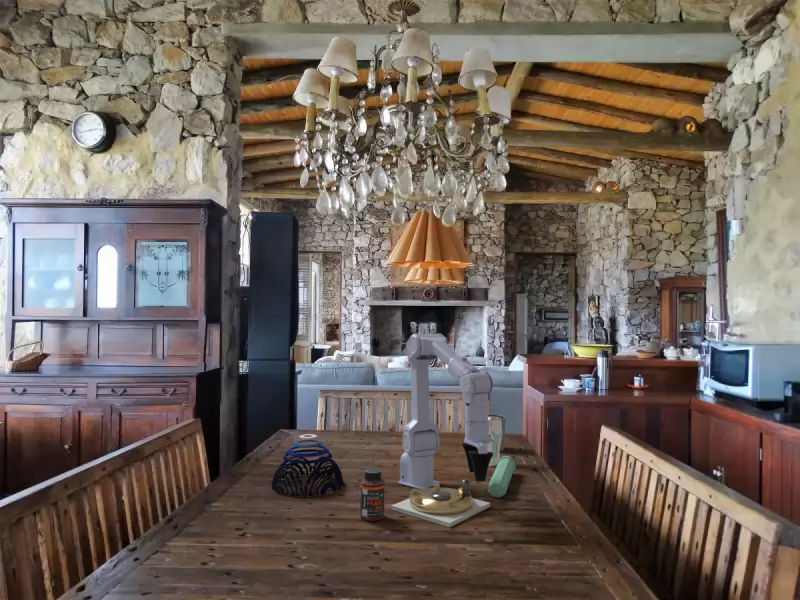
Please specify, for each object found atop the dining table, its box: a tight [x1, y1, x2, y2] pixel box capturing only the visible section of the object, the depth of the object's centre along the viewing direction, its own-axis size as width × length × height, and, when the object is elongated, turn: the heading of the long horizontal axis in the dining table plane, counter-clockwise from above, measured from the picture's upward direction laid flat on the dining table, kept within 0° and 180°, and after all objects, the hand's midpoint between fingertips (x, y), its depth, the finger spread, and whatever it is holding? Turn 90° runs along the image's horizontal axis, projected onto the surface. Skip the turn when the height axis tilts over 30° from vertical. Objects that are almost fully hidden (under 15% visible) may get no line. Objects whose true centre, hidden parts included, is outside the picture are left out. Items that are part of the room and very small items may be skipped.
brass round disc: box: [409, 478, 474, 515], centre depth 139 cm, size 16×16×6 cm
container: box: [488, 455, 517, 498], centre depth 158 cm, size 6×6×25 cm
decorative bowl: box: [271, 433, 344, 497], centre depth 157 cm, size 20×20×14 cm
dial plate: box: [391, 497, 491, 528], centre depth 139 cm, size 18×18×1 cm
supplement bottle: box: [359, 468, 386, 522], centre depth 132 cm, size 6×6×11 cm
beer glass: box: [487, 416, 502, 467], centre depth 181 cm, size 7×7×15 cm
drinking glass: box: [488, 413, 507, 452], centre depth 200 cm, size 10×10×12 cm
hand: (477, 476), depth 134 cm, fingers open, 7 cm apart
